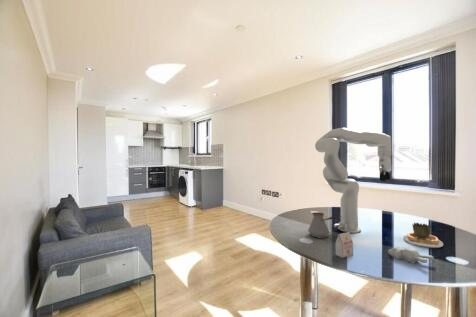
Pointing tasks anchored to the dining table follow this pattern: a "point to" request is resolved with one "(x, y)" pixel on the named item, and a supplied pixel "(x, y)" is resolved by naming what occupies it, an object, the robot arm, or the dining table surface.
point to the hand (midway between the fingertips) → (385, 180)
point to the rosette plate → (423, 241)
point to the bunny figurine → (408, 255)
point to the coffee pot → (319, 225)
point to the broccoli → (421, 230)
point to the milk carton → (344, 245)
